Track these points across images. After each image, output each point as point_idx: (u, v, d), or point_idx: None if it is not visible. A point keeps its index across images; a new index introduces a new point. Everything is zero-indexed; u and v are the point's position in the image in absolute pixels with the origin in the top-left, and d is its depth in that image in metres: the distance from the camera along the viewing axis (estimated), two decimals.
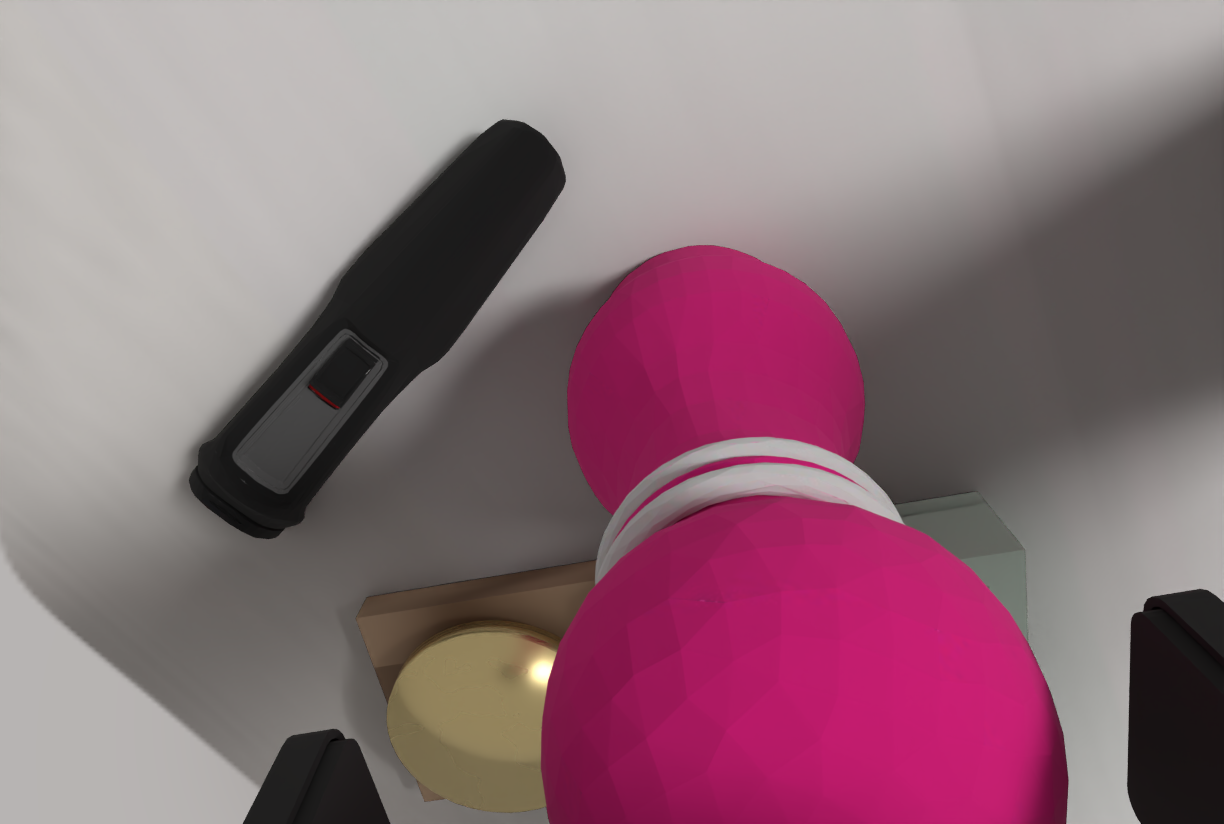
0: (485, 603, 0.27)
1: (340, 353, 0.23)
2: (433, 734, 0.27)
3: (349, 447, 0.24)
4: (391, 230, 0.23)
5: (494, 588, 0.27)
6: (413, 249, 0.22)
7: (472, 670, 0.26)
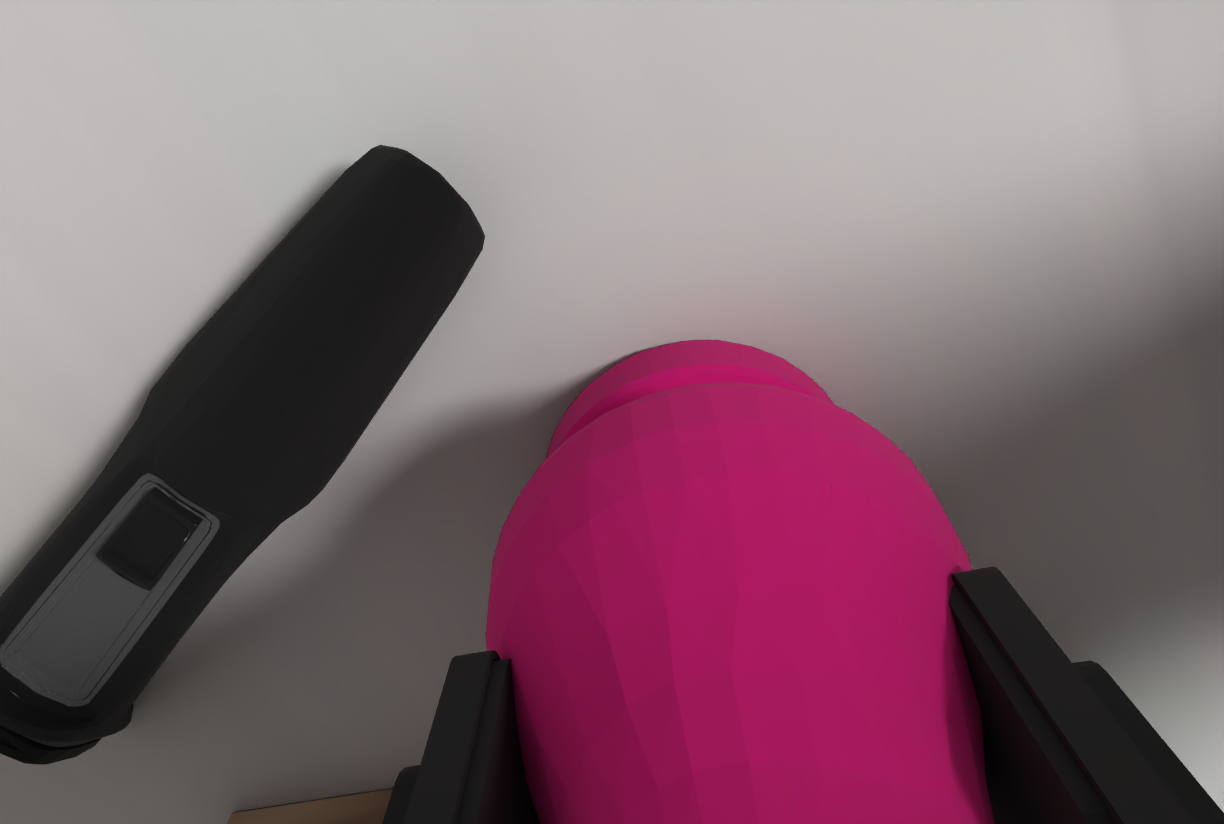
0: None
1: (141, 511, 0.15)
2: None
3: (177, 636, 0.16)
4: (217, 318, 0.15)
5: None
6: (241, 353, 0.14)
7: None
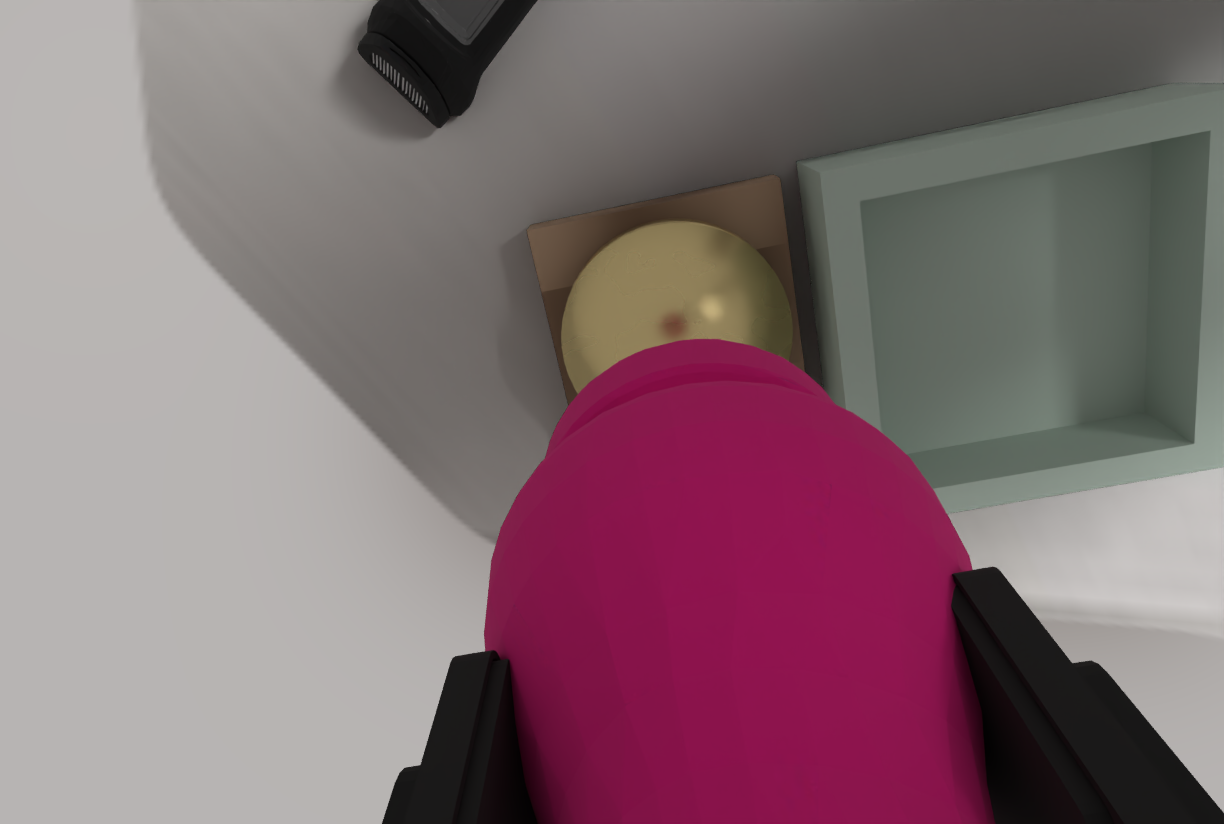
0: (663, 209, 0.26)
1: None
2: (608, 348, 0.26)
3: None
4: None
5: (670, 198, 0.26)
6: None
7: (656, 267, 0.25)
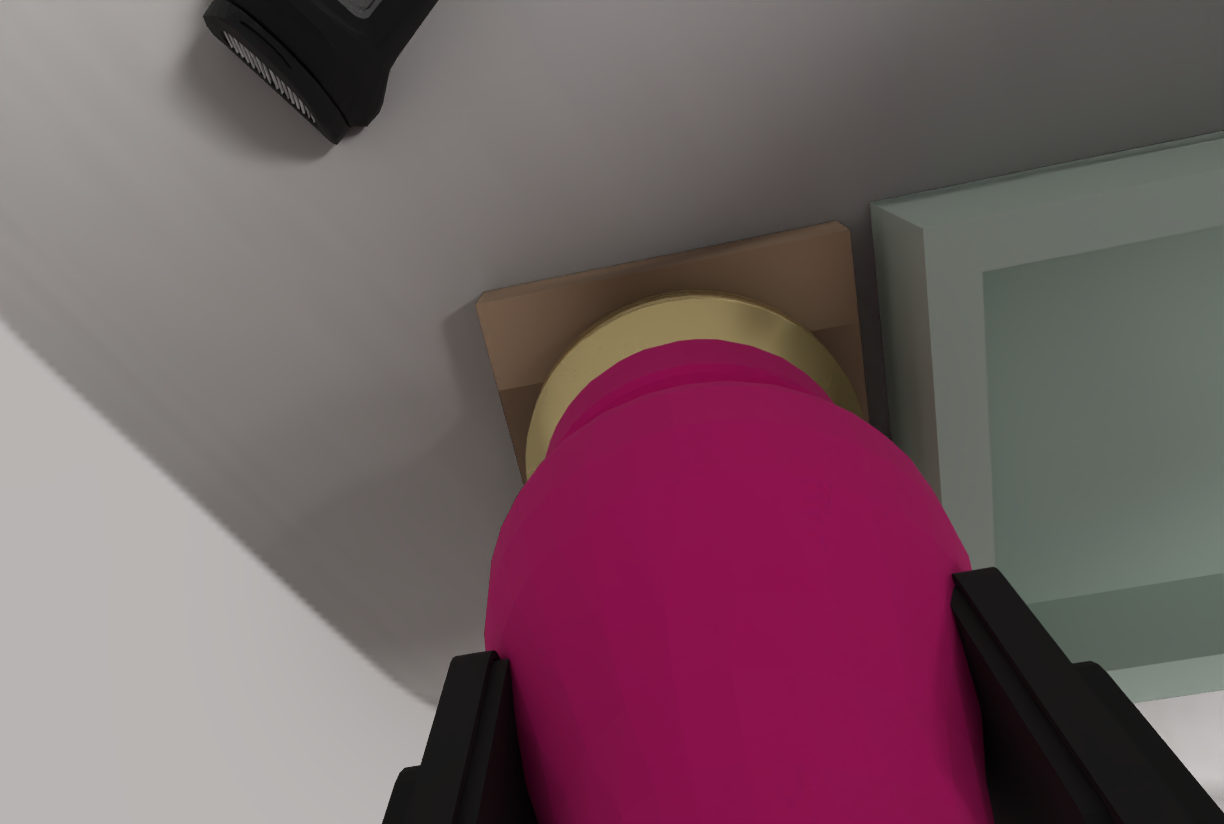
0: (676, 274, 0.18)
1: None
2: None
3: None
4: None
5: (686, 257, 0.18)
6: None
7: None
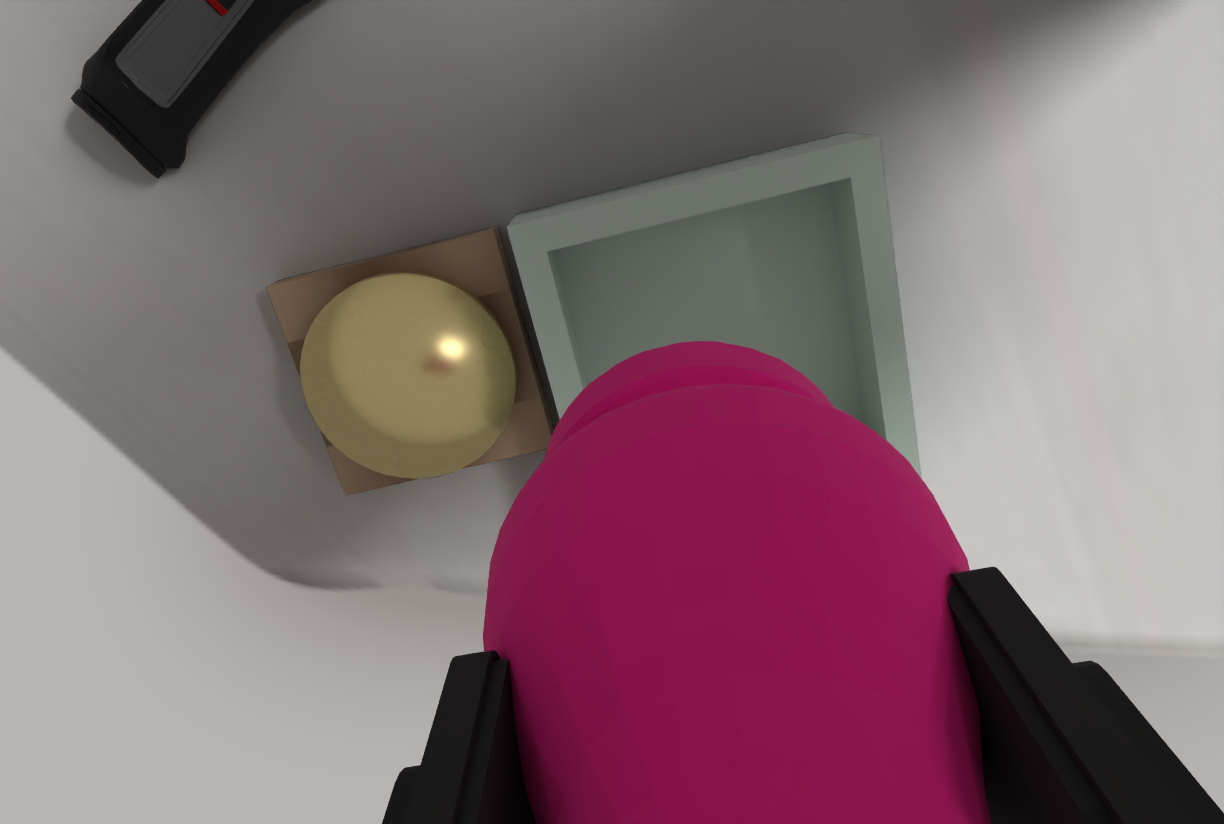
0: (390, 263, 0.28)
1: None
2: (346, 391, 0.28)
3: (233, 65, 0.26)
4: None
5: (399, 252, 0.29)
6: None
7: (379, 315, 0.28)
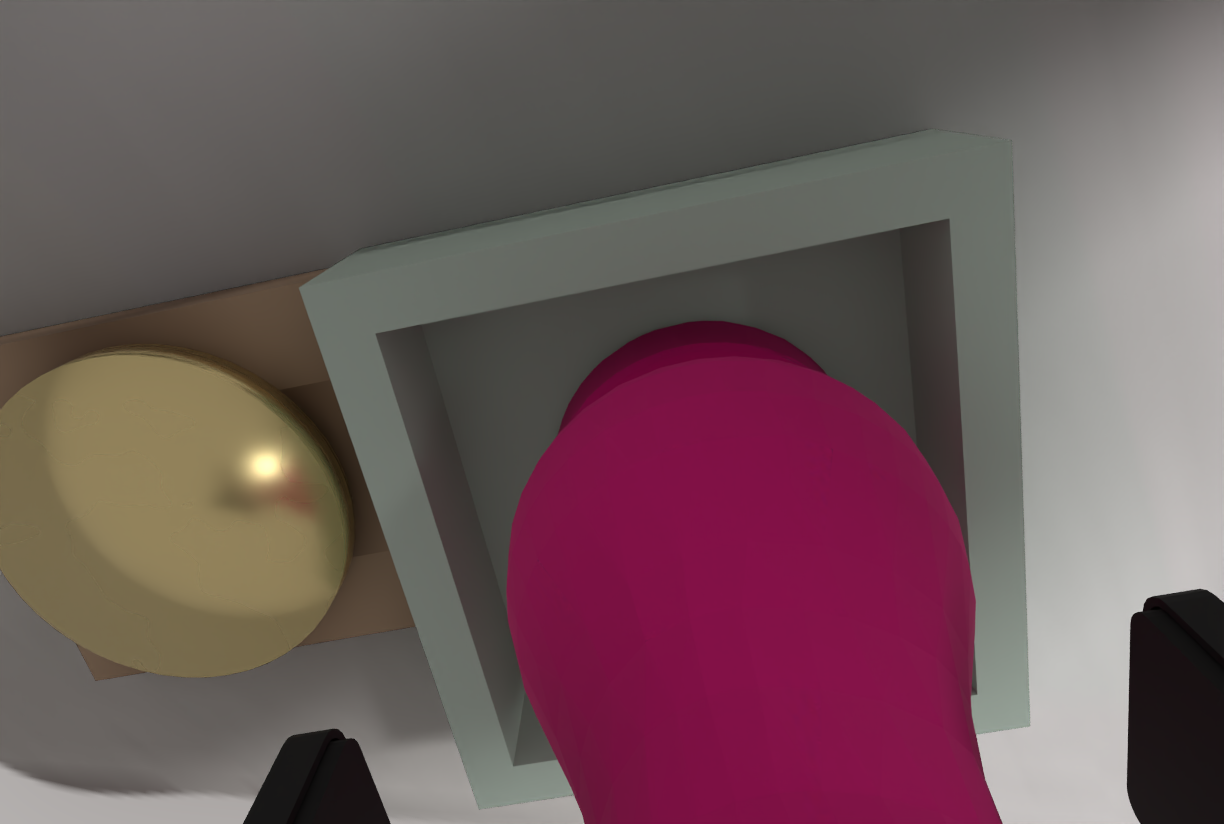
0: (134, 328, 0.16)
1: None
2: (59, 542, 0.17)
3: None
4: None
5: (155, 309, 0.17)
6: None
7: (102, 422, 0.16)
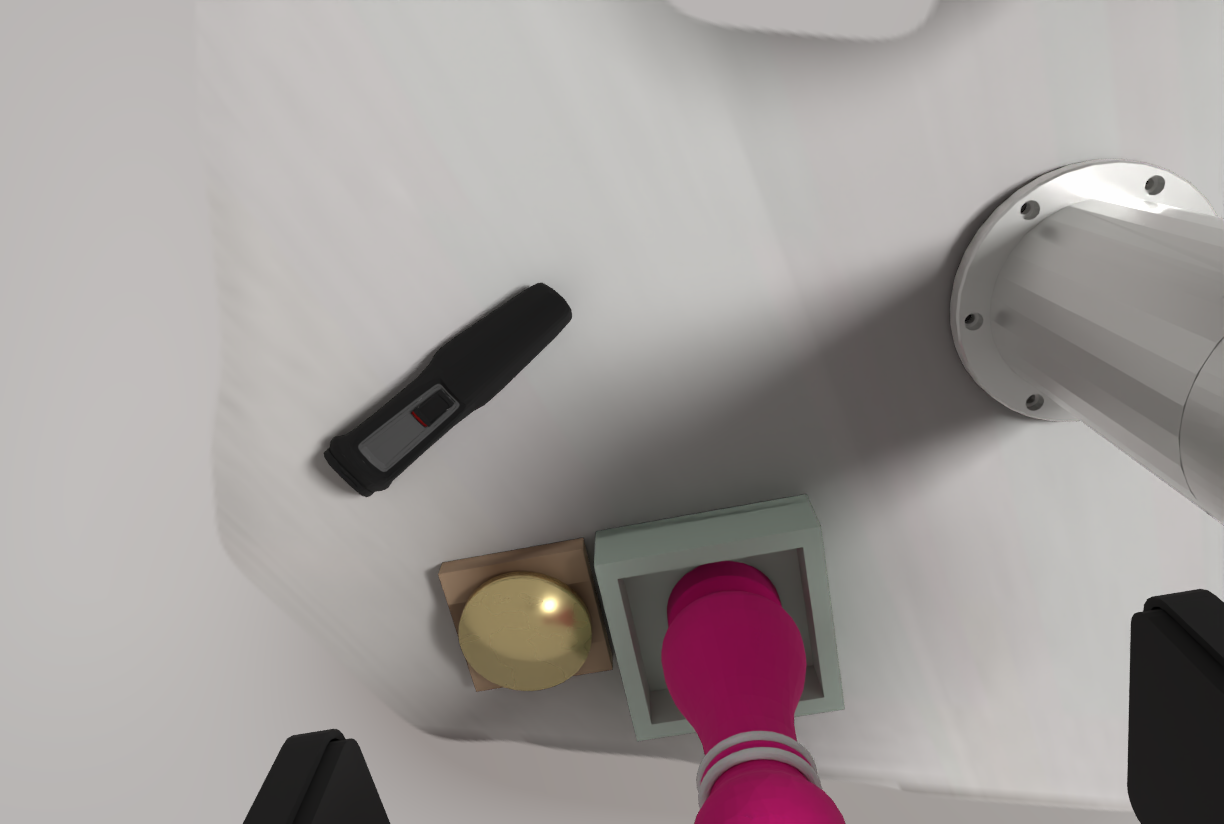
0: (516, 564, 0.45)
1: (434, 397, 0.40)
2: (486, 641, 0.45)
3: None
4: (470, 332, 0.41)
5: (521, 555, 0.45)
6: (484, 346, 0.40)
7: (510, 600, 0.45)
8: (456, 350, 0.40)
